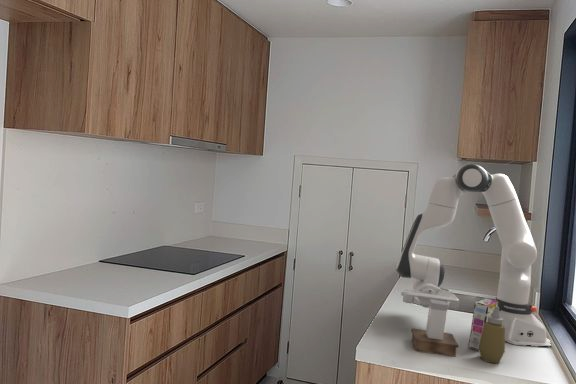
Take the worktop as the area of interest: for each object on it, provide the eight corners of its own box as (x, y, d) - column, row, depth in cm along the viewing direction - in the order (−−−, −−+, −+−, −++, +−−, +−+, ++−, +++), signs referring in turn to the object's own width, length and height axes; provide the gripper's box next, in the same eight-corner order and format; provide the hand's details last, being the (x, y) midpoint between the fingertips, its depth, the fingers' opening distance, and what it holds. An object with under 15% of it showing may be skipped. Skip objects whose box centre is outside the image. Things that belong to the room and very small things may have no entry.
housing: (440, 335, 182) (445, 301, 181) (443, 340, 177) (447, 305, 176) (425, 332, 182) (429, 299, 182) (427, 337, 177) (431, 303, 176)
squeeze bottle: (506, 361, 174) (513, 308, 173) (497, 367, 168) (505, 312, 167) (482, 353, 179) (489, 301, 178) (473, 358, 173) (480, 305, 172)
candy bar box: (482, 352, 181) (488, 305, 180) (467, 347, 184) (473, 301, 183) (492, 345, 189) (498, 301, 188) (479, 341, 192) (484, 297, 191)
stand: (450, 344, 185) (451, 333, 185) (457, 357, 173) (458, 345, 173) (410, 339, 186) (411, 328, 186) (414, 351, 175) (415, 339, 174)
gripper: (401, 283, 203) (405, 292, 189) (455, 290, 200) (463, 300, 187) (399, 299, 203) (402, 309, 189) (453, 307, 201) (461, 317, 187)
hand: (433, 305), depth 188 cm, fingers open, 8 cm apart
